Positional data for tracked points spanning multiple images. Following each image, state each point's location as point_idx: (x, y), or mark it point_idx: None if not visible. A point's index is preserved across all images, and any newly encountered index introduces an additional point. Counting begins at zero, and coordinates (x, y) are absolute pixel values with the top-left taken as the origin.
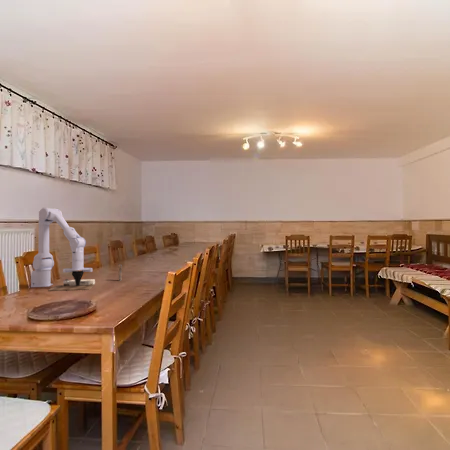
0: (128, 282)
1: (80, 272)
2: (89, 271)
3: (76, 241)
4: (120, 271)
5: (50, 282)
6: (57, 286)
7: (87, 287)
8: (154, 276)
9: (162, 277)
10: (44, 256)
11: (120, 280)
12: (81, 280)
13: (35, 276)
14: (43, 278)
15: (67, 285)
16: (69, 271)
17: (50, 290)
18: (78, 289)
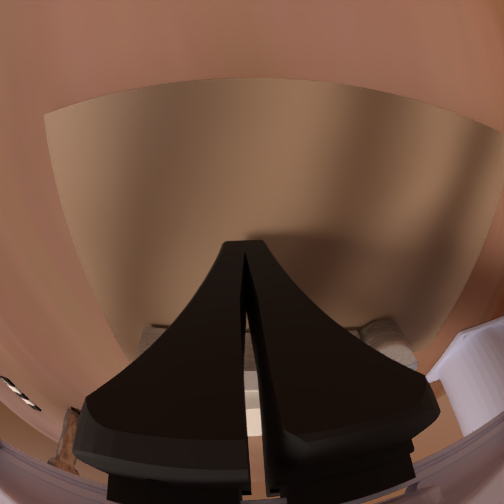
0: (20, 379)
1: (160, 482)
2: (7, 447)
3: None
4: (56, 452)
5: (446, 375)
6: (438, 307)
7: (98, 210)
8: (43, 429)
9: (9, 408)
10: None
11: (66, 411)
12: (260, 421)
13: None
14: (498, 366)
15: (371, 324)
16: (459, 455)
17: (498, 132)
18: (187, 81)
